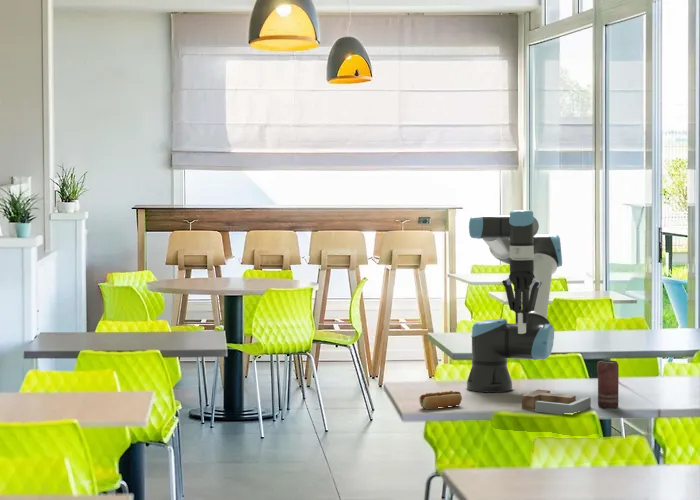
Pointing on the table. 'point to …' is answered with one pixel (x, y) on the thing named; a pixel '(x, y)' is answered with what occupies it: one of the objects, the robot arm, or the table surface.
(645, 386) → the table surface
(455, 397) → the food
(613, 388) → the can
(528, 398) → the t block
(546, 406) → the bracket
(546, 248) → the robot arm
